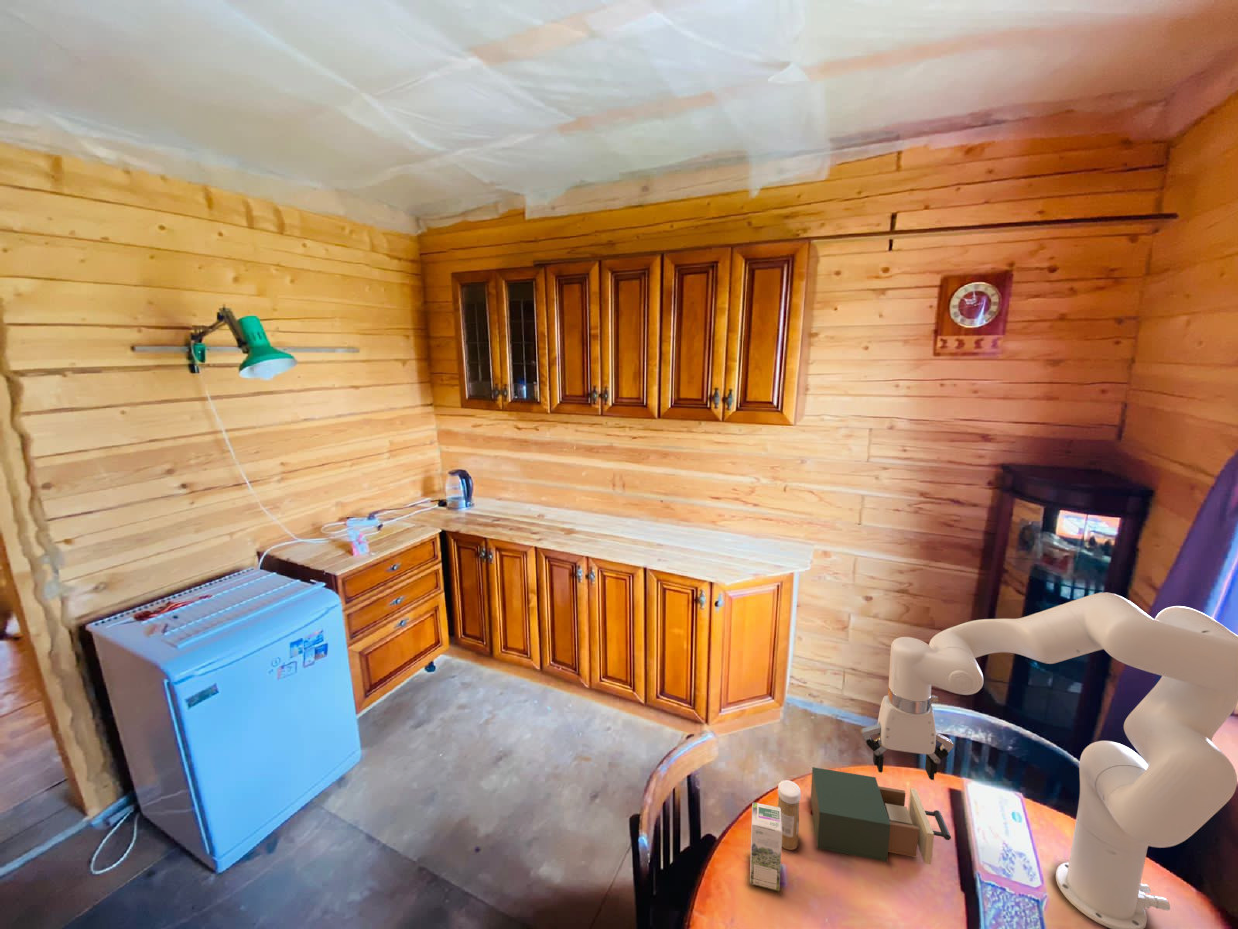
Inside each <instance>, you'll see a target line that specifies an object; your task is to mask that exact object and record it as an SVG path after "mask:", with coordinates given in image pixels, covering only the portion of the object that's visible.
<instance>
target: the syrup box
mask: <svg viewBox="0 0 1238 929" xmlns="http://www.w3.org/2000/svg"><path fill="white" fill-rule="evenodd" d="M751 804H752V805H751V828H750V830H751V831H750V857H749V858H750V860H749V861H750V865H749V867H750V868H749V882H750V883H749V884H750V885H752V886H756V887H760V888H765V889H768V890H772V891H776V892H779V891H780V886H781V885H780V884H781V865H782V863H781V862H782V849H783V847H782V821H781V808H779V807H778V806H774V805H769V804H763V803H758V802H755V801H752V803H751Z"/></svg>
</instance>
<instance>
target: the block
mask: <svg viewBox="0 0 1238 929" xmlns="http://www.w3.org/2000/svg"><path fill="white" fill-rule="evenodd" d="M884 806H885V809H886V812H887V816H888V819H889V821H891V822H897V823H902V824H908V825H913V823H912V821H911V818H910V815H909V812H908V807H907V806H905V805H904V806H899V805H893V804H887V803H885V805H884Z"/></svg>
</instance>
